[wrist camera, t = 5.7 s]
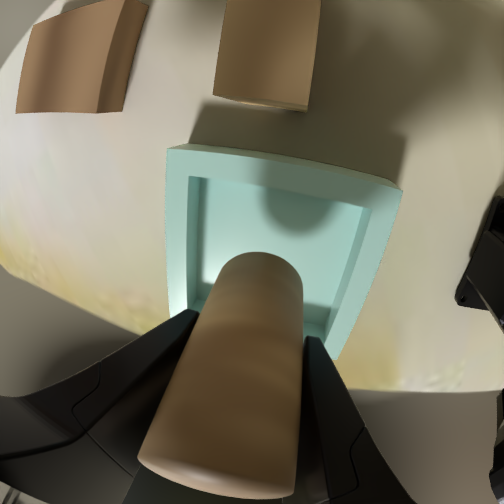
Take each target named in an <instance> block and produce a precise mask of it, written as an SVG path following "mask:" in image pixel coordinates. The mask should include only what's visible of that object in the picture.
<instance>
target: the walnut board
mask: <svg viewBox="0 0 504 504" xmlns="http://www.w3.org/2000/svg"><path fill="white" fill-rule="evenodd" d="M148 7H149V6H147V5H145V4H143V3H141V2H139V1H137V0H104V1H100V2H96V3H93V4H89V5H86V6H83V7H79V8H76V9H73V10H70V11H68V12H65V13H62V14H59V15H57V16H54V17H52V18H49V19H47V20H44V21H42V22H40V23H38V24H35V25H33V28H32V31H31V35H30V38H29V42H28V45H27V49H26V53H25V57H24V62H23V67H22V72H21V77H20V83H19V89H18V96H17V105H16V114H17V113H38V112H75V113H108V112H122V109H123V103H124V97H125V92H126V87H127V82H128V78H129V73H130V69H131V64H132V60H133V56H134V53H135V49H136V45H137V42H138V38H139V35H140V31H141V28H142V25H143V22H144V19H145V16H146V13H147V10H148Z"/></svg>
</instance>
